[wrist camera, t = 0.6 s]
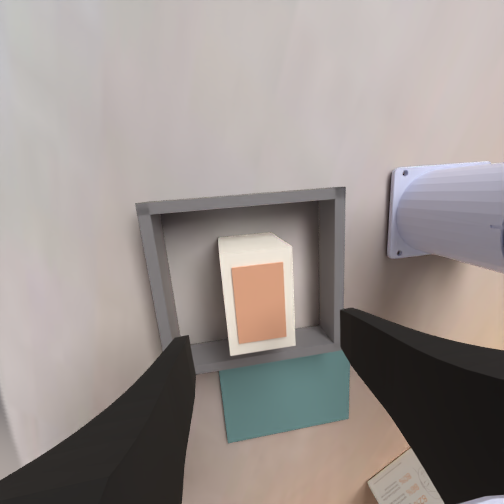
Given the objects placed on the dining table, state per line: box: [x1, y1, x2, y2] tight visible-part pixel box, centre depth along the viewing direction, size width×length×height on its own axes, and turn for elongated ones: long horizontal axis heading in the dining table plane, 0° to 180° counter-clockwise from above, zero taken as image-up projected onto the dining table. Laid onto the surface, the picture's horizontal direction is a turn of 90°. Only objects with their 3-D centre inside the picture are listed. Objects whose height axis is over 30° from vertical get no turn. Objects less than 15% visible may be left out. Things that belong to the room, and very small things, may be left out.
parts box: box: [218, 232, 296, 356], centre depth 19 cm, size 4×7×6 cm, turn 4°
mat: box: [219, 350, 350, 443], centre depth 25 cm, size 13×9×1 cm
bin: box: [135, 187, 346, 375], centre depth 20 cm, size 15×14×3 cm
